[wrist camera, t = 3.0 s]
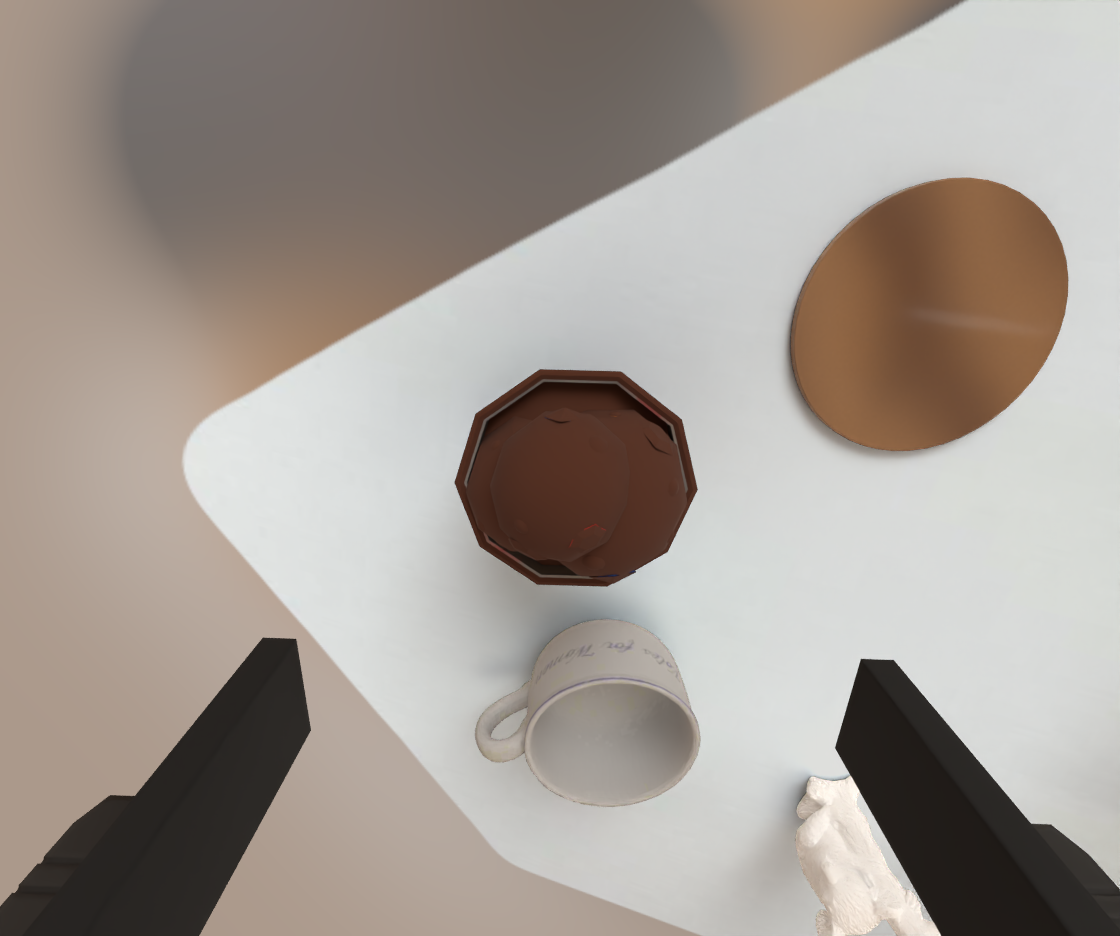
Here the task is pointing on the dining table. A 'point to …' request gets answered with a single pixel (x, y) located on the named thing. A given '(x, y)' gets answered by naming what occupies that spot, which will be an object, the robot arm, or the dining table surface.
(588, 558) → the ice cream bowl
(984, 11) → the dining table surface
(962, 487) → the dining table surface
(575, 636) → the teacup
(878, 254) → the brown round coaster
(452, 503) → the dining table surface
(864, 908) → the koala figurine
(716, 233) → the dining table surface
